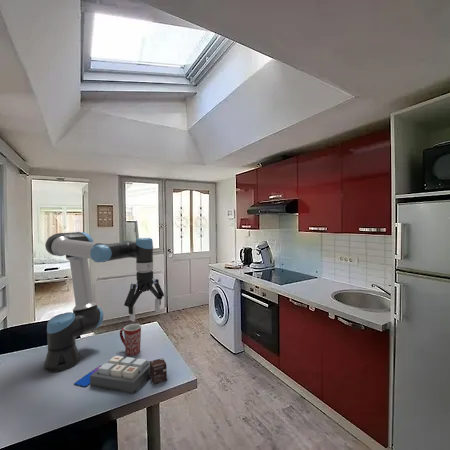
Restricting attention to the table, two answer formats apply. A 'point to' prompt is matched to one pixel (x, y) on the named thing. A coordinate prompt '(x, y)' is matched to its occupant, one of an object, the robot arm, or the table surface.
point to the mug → (131, 338)
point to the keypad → (120, 381)
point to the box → (158, 371)
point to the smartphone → (85, 379)
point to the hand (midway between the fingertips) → (145, 316)
